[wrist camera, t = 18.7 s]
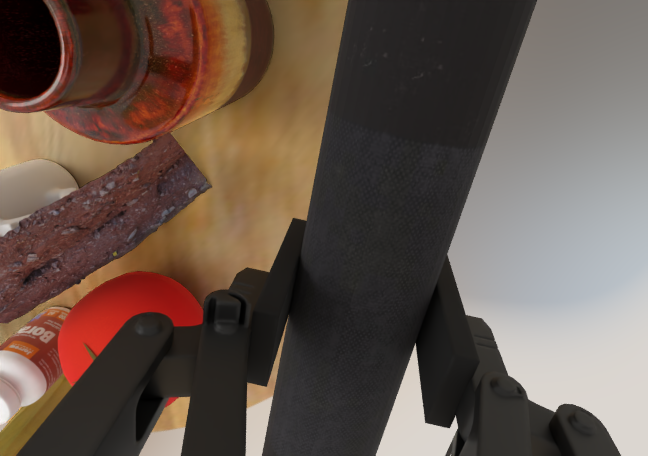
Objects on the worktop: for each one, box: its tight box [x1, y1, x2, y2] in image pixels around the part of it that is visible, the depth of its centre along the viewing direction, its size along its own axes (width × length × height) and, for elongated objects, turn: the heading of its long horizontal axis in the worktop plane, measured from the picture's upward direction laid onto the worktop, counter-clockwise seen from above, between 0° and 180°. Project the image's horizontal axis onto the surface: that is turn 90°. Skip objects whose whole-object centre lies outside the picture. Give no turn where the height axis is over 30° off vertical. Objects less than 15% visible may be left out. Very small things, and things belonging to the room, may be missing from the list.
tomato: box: [58, 271, 203, 408], centre depth 41 cm, size 14×13×10 cm
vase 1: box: [0, 373, 72, 456], centre depth 46 cm, size 6×6×14 cm
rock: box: [0, 133, 212, 323], centre depth 34 cm, size 21×4×10 cm
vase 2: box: [0, 0, 274, 145], centre depth 24 cm, size 11×11×20 cm
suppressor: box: [262, 0, 537, 456], centre depth 17 cm, size 27×5×5 cm, turn 169°
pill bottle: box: [0, 307, 71, 424], centre depth 43 cm, size 6×6×11 cm
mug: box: [0, 159, 79, 237], centre depth 35 cm, size 10×7×12 cm, turn 101°
